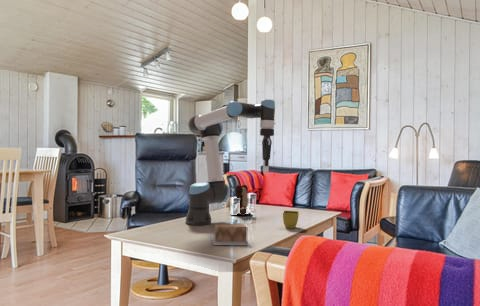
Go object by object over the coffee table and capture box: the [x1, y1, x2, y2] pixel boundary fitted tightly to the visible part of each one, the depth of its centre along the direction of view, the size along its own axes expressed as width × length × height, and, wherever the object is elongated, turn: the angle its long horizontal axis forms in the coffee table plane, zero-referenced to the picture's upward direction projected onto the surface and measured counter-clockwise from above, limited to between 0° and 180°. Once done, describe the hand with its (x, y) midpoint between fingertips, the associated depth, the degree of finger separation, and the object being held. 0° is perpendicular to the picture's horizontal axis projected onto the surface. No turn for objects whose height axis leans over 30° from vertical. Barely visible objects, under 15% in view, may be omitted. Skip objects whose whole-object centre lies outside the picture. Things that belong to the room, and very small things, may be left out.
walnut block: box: [214, 223, 249, 242], centre depth 184 cm, size 7×7×15 cm
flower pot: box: [282, 210, 300, 229], centre depth 221 cm, size 9×9×9 cm
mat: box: [209, 235, 248, 246], centre depth 184 cm, size 16×18×1 cm
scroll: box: [235, 184, 249, 215], centre depth 258 cm, size 15×15×20 cm
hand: (265, 172), depth 207 cm, fingers closed
